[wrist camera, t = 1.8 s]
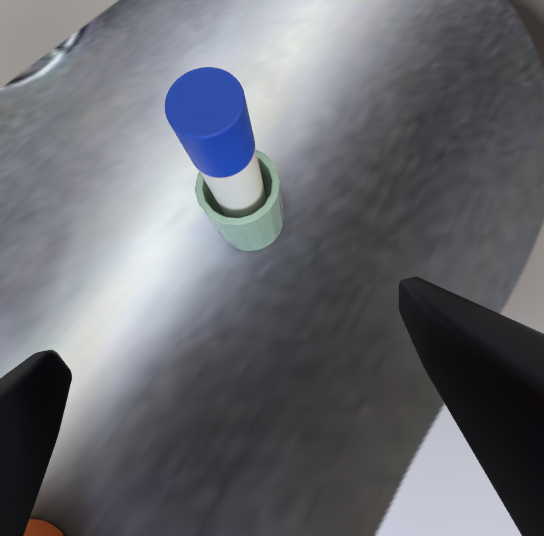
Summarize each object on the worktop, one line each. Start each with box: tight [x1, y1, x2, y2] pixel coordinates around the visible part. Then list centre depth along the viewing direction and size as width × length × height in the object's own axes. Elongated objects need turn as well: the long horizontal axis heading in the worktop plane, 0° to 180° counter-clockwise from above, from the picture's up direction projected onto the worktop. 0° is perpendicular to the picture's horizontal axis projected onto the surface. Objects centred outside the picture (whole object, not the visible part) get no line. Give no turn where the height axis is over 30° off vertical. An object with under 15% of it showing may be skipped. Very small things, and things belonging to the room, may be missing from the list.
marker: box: [165, 67, 267, 218], centre depth 17 cm, size 3×3×12 cm
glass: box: [195, 150, 284, 251], centre depth 21 cm, size 5×5×6 cm
